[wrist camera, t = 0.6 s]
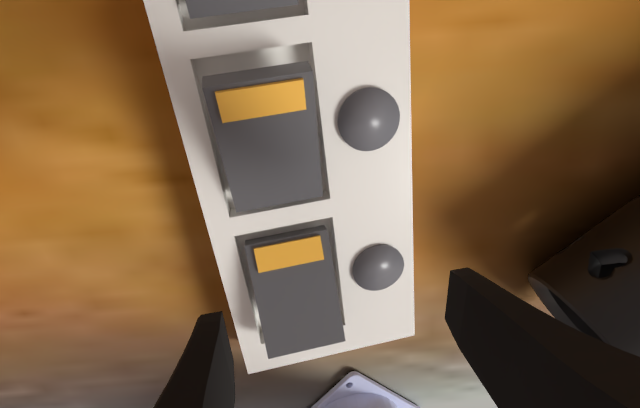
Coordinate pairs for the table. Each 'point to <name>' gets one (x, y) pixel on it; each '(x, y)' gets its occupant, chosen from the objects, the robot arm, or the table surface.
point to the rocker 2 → (295, 290)
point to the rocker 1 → (231, 6)
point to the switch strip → (334, 147)
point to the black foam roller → (598, 281)
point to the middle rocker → (266, 133)
